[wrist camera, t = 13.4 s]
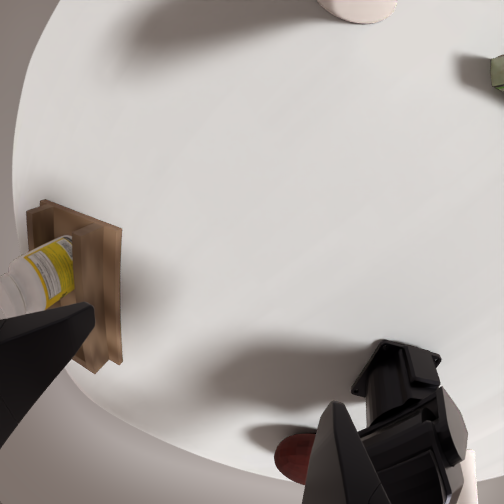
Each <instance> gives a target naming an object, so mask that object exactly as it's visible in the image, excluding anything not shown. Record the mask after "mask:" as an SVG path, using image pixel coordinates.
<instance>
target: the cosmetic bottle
mask: <svg viewBox="0 0 504 504" xmlns="http://www.w3.org/2000/svg"><path fill="white" fill-rule="evenodd" d="M460 464H461V469H462V473H463V477H464V484H463V487H462V490H461V493H460V496H459V498H458V501H457V503H456V504H478V497H477V484H476V469H475V451H474V450H471V449H468V450H466V456H465V460H463V461H462V462H460Z"/></svg>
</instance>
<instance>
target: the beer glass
mask: <svg viewBox="0 0 504 504" xmlns="http://www.w3.org/2000/svg"><path fill="white" fill-rule="evenodd" d="M317 1H318V3H319V4H320V5H321V6H322V7H323V8H324V9H325V10H326V11H328V12H329V13H331V14H332V15H334V16H336V17H338V18H340V19H343V20H346V21H349V22H354V23H361V24H369V23H376V22H380V21H382V20H384V19H386V18H388V17H389V16H390V15H391V14H392V13H393V12H394V10H395V8H396V6H397V0H317Z"/></svg>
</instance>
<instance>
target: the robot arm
mask: <svg viewBox="0 0 504 504" xmlns="http://www.w3.org/2000/svg"><path fill="white" fill-rule="evenodd" d="M95 324H96V320H95V309H94V306H93V305H91V304H89V303H88V302H80V303H75V304H71V305H66V306H62V307H57V308H53V309H48V310H43V311H39V312H34V313H30V314H25V315H20V316H16V317H11V318H8V319H2V320H0V449H1V447H2V445H3V444H4V443H5V442H6V440H7V439H8V437H9V436H10V435H11V433H12V432H13V431H14V429H15V428H16V427H17V426H18V424H19V423H20V421H21V420H22V419H23V417H24V416H25V415H26V414H27V412H28V411H29V410H30V409H31V407H32V406H33V405H34V403H35V402H36V401H37V400H38V398H39V397H40V396H41V395H42V394H43V392H44V391H45V390H46V389H47V387H48V386H49V385H50V384H51V383H52V381H53V380H54V379H55V378H56V377H57V375H58V374H59V373H60V372H61V371H62V370H63V368H64V367H65V366H66V365H67V364H68V363H69V361H70V360H71V359H72V358H73V357H74V355H75V354H76V353H77V351H78V350H79V348H80V347H81V346H82V344H83V343H84V341H85V340H86V338H87V337H88V336H89V334H90V333H91V331H92V330H93V329H94V327H95ZM385 345H386V346H387V347H384V346H385ZM436 359H437V360H436ZM440 362H441V357H440V355H439V354H436V353H432V352H430V351H428V350H425V349H421V348H417V347H414V346H410V345H402V344H399V343H395V342H392V341H388V340H384V341H382V342H381V343H380V344H379V346H378V347H377V349H376V351H375V352H374V354H373V355H372V357H371V359H370V360H369V362H368V363H367V365H366V366H365V368H364V370H363V371H362V373H361V374H360V376H359V377H358V379H357V380H356V381H355V383H354V384H353V386H352V387H351V393H352V394H354V395H357V396H362V397H366V420H367V428H365V429H363V430H361V431H358V432H357V430H356V428H355V426H354V424H353V422H352V419H351V417H350V415H349V413H348V411H347V409H346V407H345V405H344V404H343V403H341V402H337V401H332V402H330V404H329V405H328V407H327V408H326V409H325V411H324V412H323V414H322V415H321V417H320V421H319V425H318V429H317V432H316V436H315V440H314V444H313V447H312V451H311V455H310V460H309V465H308V472H307V478H306V484H305V490H304V495H303V500H302V504H456V503H457V501H458V498H459V496H460V493H461V490H462V487H463V484H464V477H463V473H462V469H461V464H460V462H462V461H463V460H465V456H466V448H467V438H468V432H467V429H466V426H465V423H464V420H463V417H462V414H461V412H460V410H459V409H458V407H457V406H456V405H455V403H454V402H453V400H452V399H451V397H450V396H449V395H448V393H447V392H446V390H445V389H444V388H443V386H441V387H440V388H439V386H440V379H439V376H438V373H437V370H436V368H437V366H438V365H439V364H440ZM0 504H2V503H1V502H0Z"/></svg>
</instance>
